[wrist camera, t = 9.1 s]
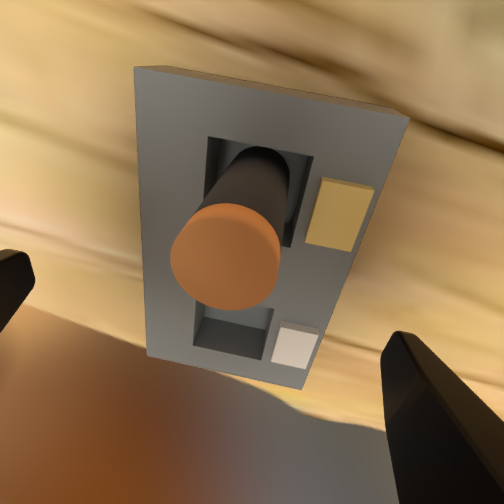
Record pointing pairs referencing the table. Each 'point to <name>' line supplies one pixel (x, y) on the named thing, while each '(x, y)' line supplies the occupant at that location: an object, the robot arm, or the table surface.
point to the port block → (296, 218)
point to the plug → (236, 234)
